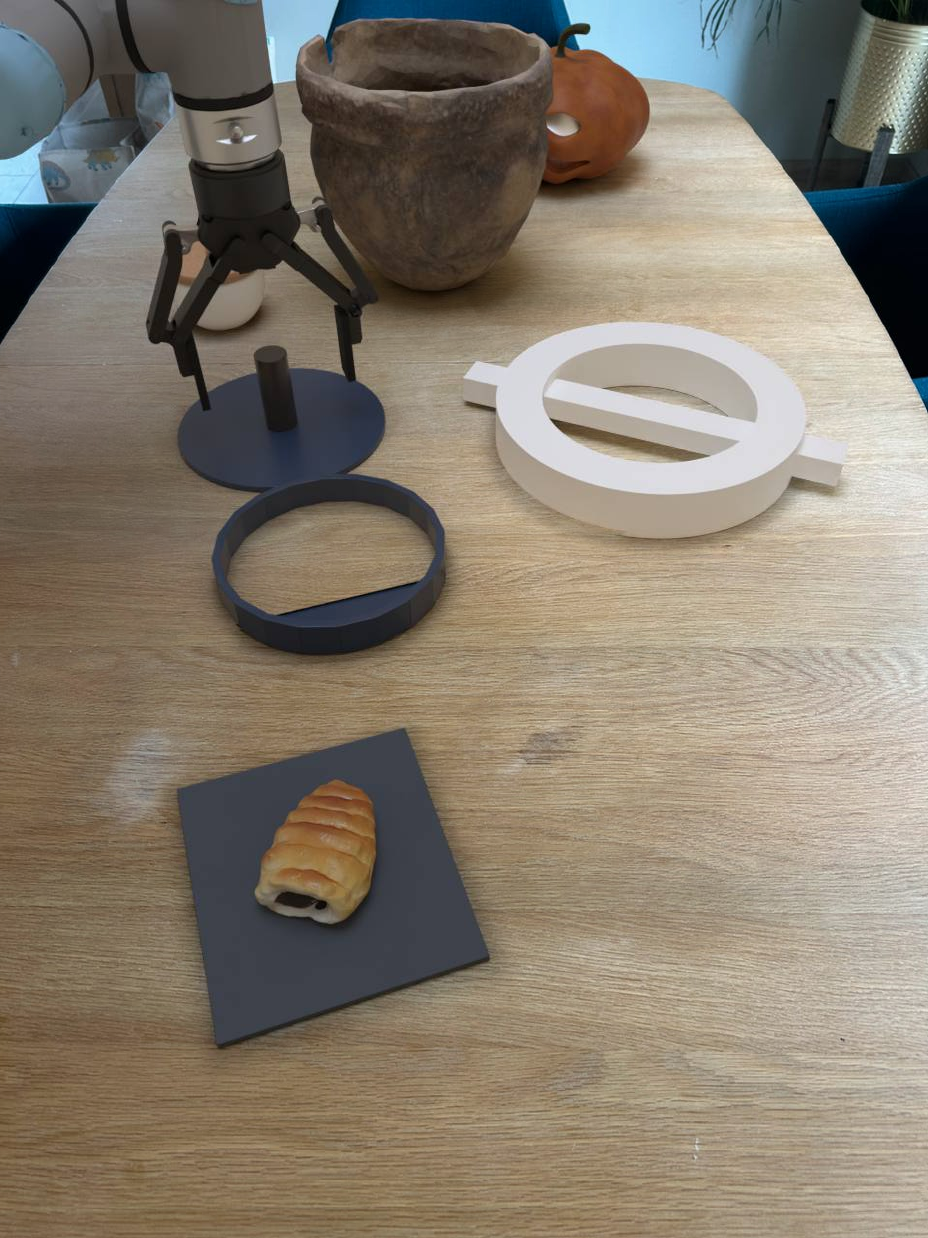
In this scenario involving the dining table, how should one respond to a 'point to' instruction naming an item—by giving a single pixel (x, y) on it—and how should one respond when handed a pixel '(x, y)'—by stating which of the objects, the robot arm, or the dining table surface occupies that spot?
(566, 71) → the pumpkin
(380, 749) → the mat
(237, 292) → the trinket box
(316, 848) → the pastry
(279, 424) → the lid
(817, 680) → the dining table surface
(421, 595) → the dark blue ring
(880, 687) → the dining table surface
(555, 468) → the white circle with bar
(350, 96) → the clay pot
